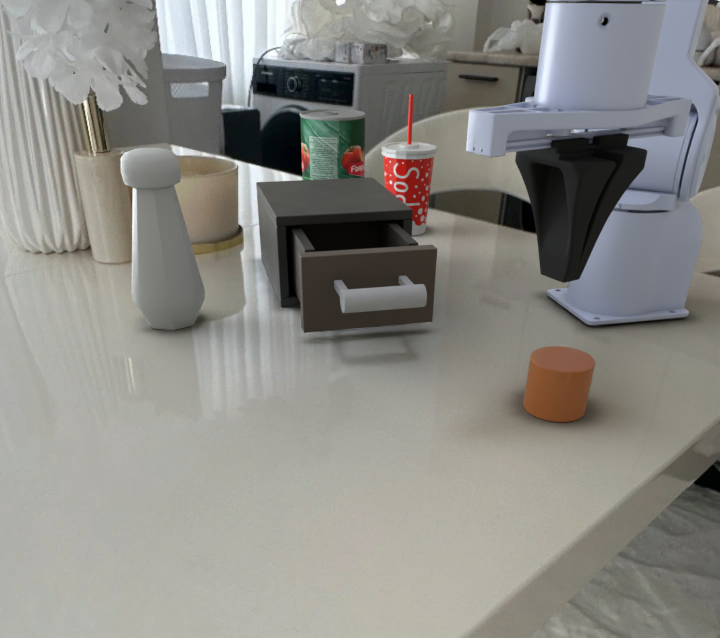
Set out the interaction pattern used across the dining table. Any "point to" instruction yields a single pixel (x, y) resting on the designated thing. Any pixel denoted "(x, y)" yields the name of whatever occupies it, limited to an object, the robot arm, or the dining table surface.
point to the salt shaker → (161, 242)
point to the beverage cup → (410, 173)
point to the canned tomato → (332, 144)
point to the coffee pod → (558, 383)
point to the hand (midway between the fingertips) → (559, 276)
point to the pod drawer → (360, 275)
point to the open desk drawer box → (317, 216)
